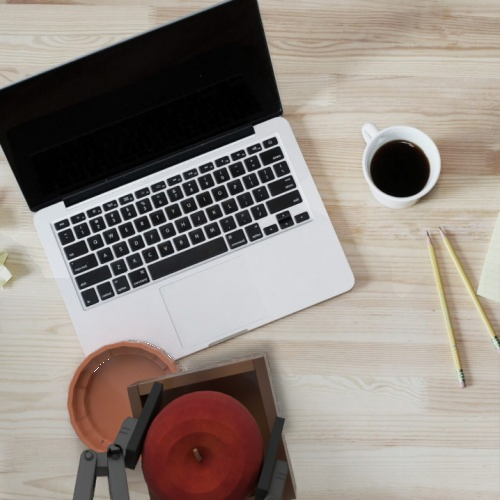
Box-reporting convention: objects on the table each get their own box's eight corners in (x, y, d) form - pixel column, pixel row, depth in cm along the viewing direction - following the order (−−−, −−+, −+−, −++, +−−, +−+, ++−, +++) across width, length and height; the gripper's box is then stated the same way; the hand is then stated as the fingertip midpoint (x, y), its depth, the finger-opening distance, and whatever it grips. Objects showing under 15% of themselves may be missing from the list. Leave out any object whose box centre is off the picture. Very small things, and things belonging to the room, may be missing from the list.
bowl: (88, 467, 88) (80, 473, 85) (65, 353, 89) (56, 356, 86) (200, 442, 87) (196, 448, 84) (175, 329, 88) (170, 330, 85)
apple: (284, 471, 61) (281, 505, 51) (180, 509, 61) (157, 550, 52) (245, 366, 62) (234, 380, 52) (143, 405, 62) (113, 425, 52)
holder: (164, 514, 63) (155, 528, 59) (136, 381, 64) (126, 386, 60) (296, 486, 63) (296, 499, 59) (266, 352, 64) (263, 356, 60)
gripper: (-51, 678, 45) (90, 399, 62) (287, 790, 43) (339, 471, 60) (-71, 635, 40) (88, 343, 57) (311, 760, 38) (361, 421, 55)
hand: (217, 409), depth 58 cm, fingers closed on apple, 9 cm apart
